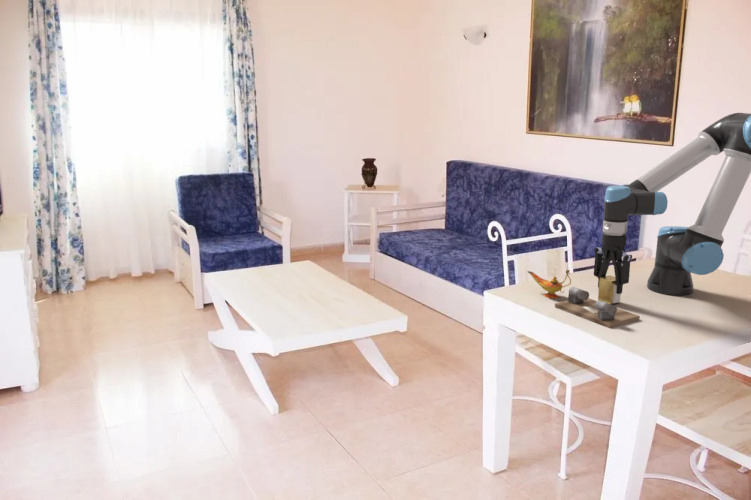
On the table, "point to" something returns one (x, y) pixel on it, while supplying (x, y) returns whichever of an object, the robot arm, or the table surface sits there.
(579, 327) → the table surface
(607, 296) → the block
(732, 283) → the table surface
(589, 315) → the shaft bench
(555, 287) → the magic lamp
